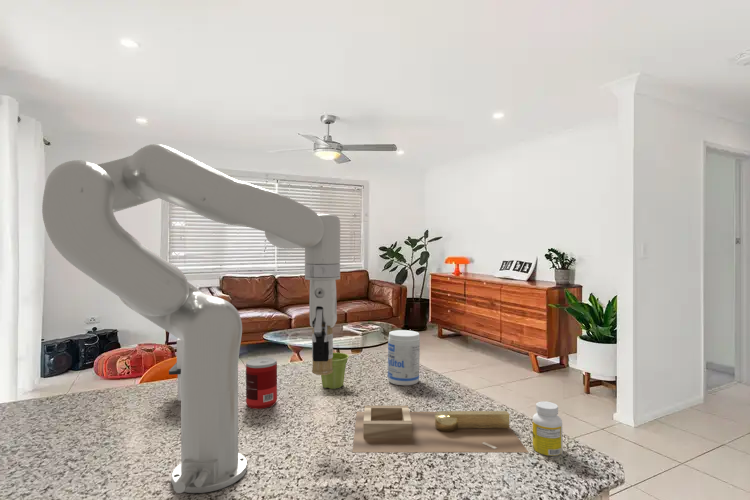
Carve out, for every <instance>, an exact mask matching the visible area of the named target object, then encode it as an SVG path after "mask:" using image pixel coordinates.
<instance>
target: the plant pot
mask: <svg viewBox="0 0 750 500" xmlns="http://www.w3.org/2000/svg"><path fill="white" fill-rule="evenodd" d="M349 358H350V356H349V354H347V353H342V352H333V357H332V369H333V372H332V373H330V374H328V375H320V377H321V384H322V385H321V386H322V388H325V389H327V388H328V389H331V390H334V389H339V388H342V387H343V386H344V382H345V381H344V380H345V375H346V366H347V362H348V359H349Z"/></svg>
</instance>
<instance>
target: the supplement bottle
mask: <svg viewBox="0 0 750 500" xmlns="http://www.w3.org/2000/svg"><path fill="white" fill-rule="evenodd" d="M535 411H536V413H534V414H533V416H532V449H533V451H534V452H535V453H536V454H539V455H541V456H546V457H550V458H551V457H552V458H554V457H555V458H556V457H561V456H562V455H563V452H564V451H563V450H564V449H563V444H564V443H563V419H562V418H561V417H560V416H559V405H558V404H557V403H554V402H551V401H544V400H542V401H538V402H536V403H535Z"/></svg>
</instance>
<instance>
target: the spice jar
mask: <svg viewBox="0 0 750 500" xmlns="http://www.w3.org/2000/svg"><path fill="white" fill-rule="evenodd" d="M313 322H314V321H313ZM322 327H325V324H322ZM322 331H325V330H322ZM311 335H312V336H311V342H312V343H311V357H312V367H311V368H312V369H311V373H312V374H314V375H316V376H321V375H328V374H330V373H332V372H333V369H332V357H333V353H334V333H333V327H332V328H330V326H328V333H327V342H329V359H328V361H313V342H314V341H313V339H314V327H312V333H311Z"/></svg>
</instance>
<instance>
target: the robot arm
mask: <svg viewBox="0 0 750 500" xmlns="http://www.w3.org/2000/svg"><path fill="white" fill-rule="evenodd" d="M157 199H160V200H162V201H166V202H168V203H169V204H172V205H174V206H177V207H181V208H183V209H184V210H187V211H190V212H192V213H195V214H197V215H199V216H202V217H203V218H207V219H209V220H211V221H212V222H213V221H214V222H217V223H221V224H225V225H228V226H235V227H236V226H239V227H246V228H251V229H254V230H259V231H261V232H264V235H265V237H266V240H267V241H268V242H269V243H270V244H272V246H274V247H277V248H279V249H284V250H287V249H288V250H289V249H303V250H304V280H306V281H307V280H308V281H309V300H308V301H309V303H308V304H309V311H308V312H309V326H310V327H311V328H313V327H314V339H313V341H314V342H313V358H312V359H313V360H312V362H313V361H328V359H329V342H327V333H328V326H330V328H332V329H333V328H334V327H335V325H336V323H337V320H338V312H337V309H338V308H337V280H341V220H340V218H339V216H337V215H335V214H331V213H317V212H315V210H313V209H311V208H310V207H308V206H306V205H304V204H303V203H301V202H298V201H296V200H294V199H292V198H290V197H288V196H285V195H284V194H280V193H278V192H275V191H272V190H270V189H266V188H262V187H260V186H258V185H254V184H251V183H249V182H245V181H241V180H238V179H236V178H234V177H231V176H229V175H227V174H225V173H224V172H221V171H219V170H217V169H215V168H212V167H211V166H209V165H206V164H205V163H203V162H200V161H199V160H196V159H194V158H193V157H191V156H189V155H186V154H184V153H183V152H180V151H178V150H177V149H175V148H172V147H170V146H167V145H164V144H158V143H154V144H148V145H145V146H143V147H141V148H140V149H137V151H136V152H134V153H133V154H132V155H128V156H125V157H122V158H119V159H116V160H110V161H107V162H102V163H99V164H96V163H93V162H90V161H85V160H81V159H80V160H69V161H65V162H63V163H61V164H59V165H57V166H56V167H55V168H54V169H52V171H51V172H50V173H49V175H48V177H47V178H46V181H45V185H44V190H43V196H42V203H41V204H42V205H41V207H42V209H41V212H42V220H43V224H44V228H45V231H46V233H47V236H48V237H49V239H50V241H51V243H52V245H53V246H54V248H55V249H56V250H57V252H59V254H60V255H61V256H62V257H63V258H64V259H65V260H66V261H67V262H68V263H70V265H72V266H73V267H75V268H76V269H77V270H79V271H80V272H82V273H83V274H84V275H86V276H88V277H89V278H91V279H92V280H94V281H95V282H96V283H98V284H99V285H100V286H102V287H103V288H105V289H107V290H109V292H111V293H113V294H115V295H116V296H118V297H119V299H120V300H121V302H122V303H123V304H124V305H125V306H126V307H128V308H129V309H131V310H132V311H134V312H136V313H137V314H139V315H140V316H142V317H144V318H145V319H146V320H148V321H150V322H151V323H153V324H155V325H156V326H158V327H160V328H161V329H162V330H164V331H165V332H168V333H169V334H171V335H172V336H173V337H176V338H177V339H178V338H179V339H180V340H182V341H184V351H183V358H182V366H181V400H180V435H181V436H180V460H181V461H180V463H179V464H178V465H177V466H176V467H175V468H174V469H173V471H172V472H171V479H170V480H171V485H172V487H173V490H174V492H175V493H177V494H182V493H187V494H188V493H190V494H203V493H210V492H215V491H219V490H222V489H225V488H227V487H230V486H231V485H233V484H235V483H236V482H238V481H239V480H240V479H242V478H243V477H244V476H245V474H246V473H247V470H248V460H247V458H246V457H245V456H244V455H243V454H241V453H239V357H240V356H239V355H240V350H241V349H240V348H241V342H242V334H243V322H242V318H241V315H240V313H239V310H238V309H237V308H236V307H235V306H234V305H233V304H232V303H231V302H230V301H228V300H226V299H224V298H221V297H219V296H215V295H209V294H206V293H205V292H204V291H202V290H200V289H198V288H197V287H195V286H194V285H193V284H191V283H190V282H189V281H188V279H187V278H186V276H185V274H184V273H183V271H182V270H181V269H180V268H178V267H177V266H176V265H174V264H173V263H171V262H170V261H167V260H166V259H165V258H163V257H161V256H160V255H159V254H157V253H156V252H155V251H153V250H151V248H149V247H147V246H146V245H145V244H143V243H142V242H141V241H140V240H138V239H137V238H136V237H134V236H133V235H132V234H131V233H129V232H128V231H127V230H125V229H124V228H123V227H122V225H120V223H119V221H118V220H117V219H116V216H115V215H114V213H116V212H120V211H124V210H126V209H129V208H133V207H137V206H140V205H142V204H145V203H148V202H151V201H155V200H157ZM313 321H314V322H313ZM322 324H325V327H322ZM322 330H325V331H322Z"/></svg>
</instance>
